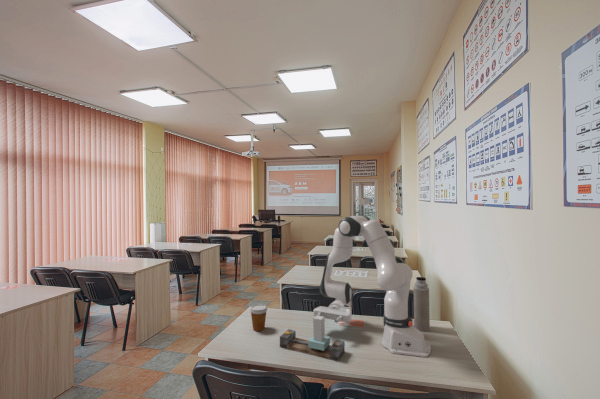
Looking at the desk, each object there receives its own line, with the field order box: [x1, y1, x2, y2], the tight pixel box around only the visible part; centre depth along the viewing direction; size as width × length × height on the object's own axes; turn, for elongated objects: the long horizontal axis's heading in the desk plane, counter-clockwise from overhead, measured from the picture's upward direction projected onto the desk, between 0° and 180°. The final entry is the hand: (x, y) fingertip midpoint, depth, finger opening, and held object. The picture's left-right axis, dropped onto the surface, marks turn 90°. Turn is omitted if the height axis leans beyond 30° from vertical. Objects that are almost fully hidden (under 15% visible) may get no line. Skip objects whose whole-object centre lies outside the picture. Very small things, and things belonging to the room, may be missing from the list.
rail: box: [279, 328, 346, 362], centre depth 138 cm, size 30×9×6 cm, turn 64°
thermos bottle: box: [412, 276, 431, 332], centre depth 160 cm, size 8×8×28 cm
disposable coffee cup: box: [249, 304, 268, 332], centre depth 162 cm, size 10×10×12 cm
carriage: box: [307, 316, 331, 351], centre depth 137 cm, size 8×8×13 cm
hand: (327, 319), depth 146 cm, fingers open, 8 cm apart
